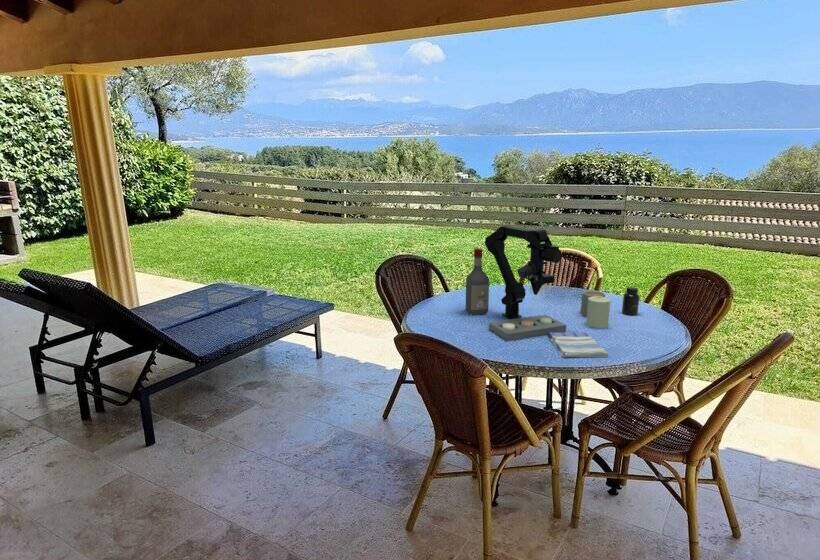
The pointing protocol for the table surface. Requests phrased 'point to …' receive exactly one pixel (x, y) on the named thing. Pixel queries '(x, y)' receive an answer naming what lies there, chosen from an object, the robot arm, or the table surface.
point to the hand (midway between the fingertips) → (535, 294)
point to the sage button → (545, 320)
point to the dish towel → (576, 345)
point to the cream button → (508, 326)
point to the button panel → (526, 328)
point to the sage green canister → (598, 312)
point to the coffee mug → (585, 300)
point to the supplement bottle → (630, 301)
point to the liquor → (477, 287)
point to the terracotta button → (527, 323)
